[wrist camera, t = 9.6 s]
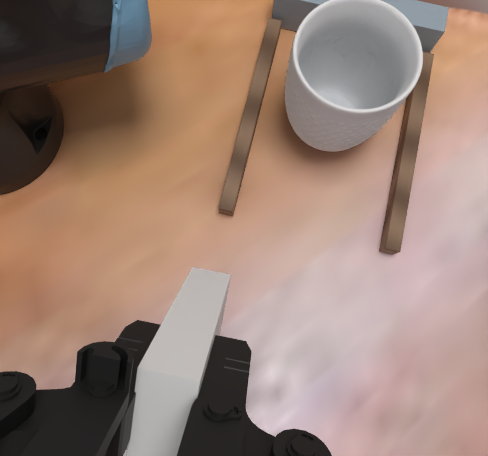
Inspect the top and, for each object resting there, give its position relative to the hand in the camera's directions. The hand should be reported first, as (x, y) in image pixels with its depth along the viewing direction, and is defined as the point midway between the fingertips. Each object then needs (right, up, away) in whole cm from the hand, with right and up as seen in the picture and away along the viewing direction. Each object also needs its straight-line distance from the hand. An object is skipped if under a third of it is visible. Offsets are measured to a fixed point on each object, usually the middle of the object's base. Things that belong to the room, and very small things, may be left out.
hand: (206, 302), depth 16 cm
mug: (+11, +16, +32) cm, 37 cm away
